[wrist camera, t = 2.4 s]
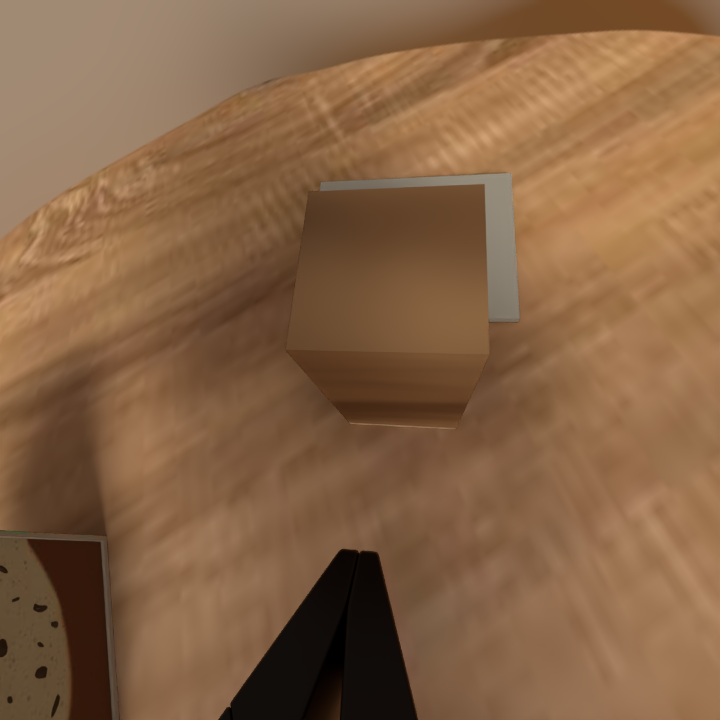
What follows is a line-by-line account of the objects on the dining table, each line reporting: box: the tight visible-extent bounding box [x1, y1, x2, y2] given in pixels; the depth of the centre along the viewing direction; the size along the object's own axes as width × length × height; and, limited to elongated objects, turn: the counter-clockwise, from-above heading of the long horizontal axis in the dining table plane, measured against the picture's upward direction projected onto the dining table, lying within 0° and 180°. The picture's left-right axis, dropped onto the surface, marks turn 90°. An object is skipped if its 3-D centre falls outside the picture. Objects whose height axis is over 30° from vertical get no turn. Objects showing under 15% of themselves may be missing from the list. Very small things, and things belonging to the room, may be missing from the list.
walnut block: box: [285, 184, 490, 429], centre depth 15 cm, size 5×5×10 cm
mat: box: [320, 173, 520, 322], centre depth 22 cm, size 9×11×1 cm
